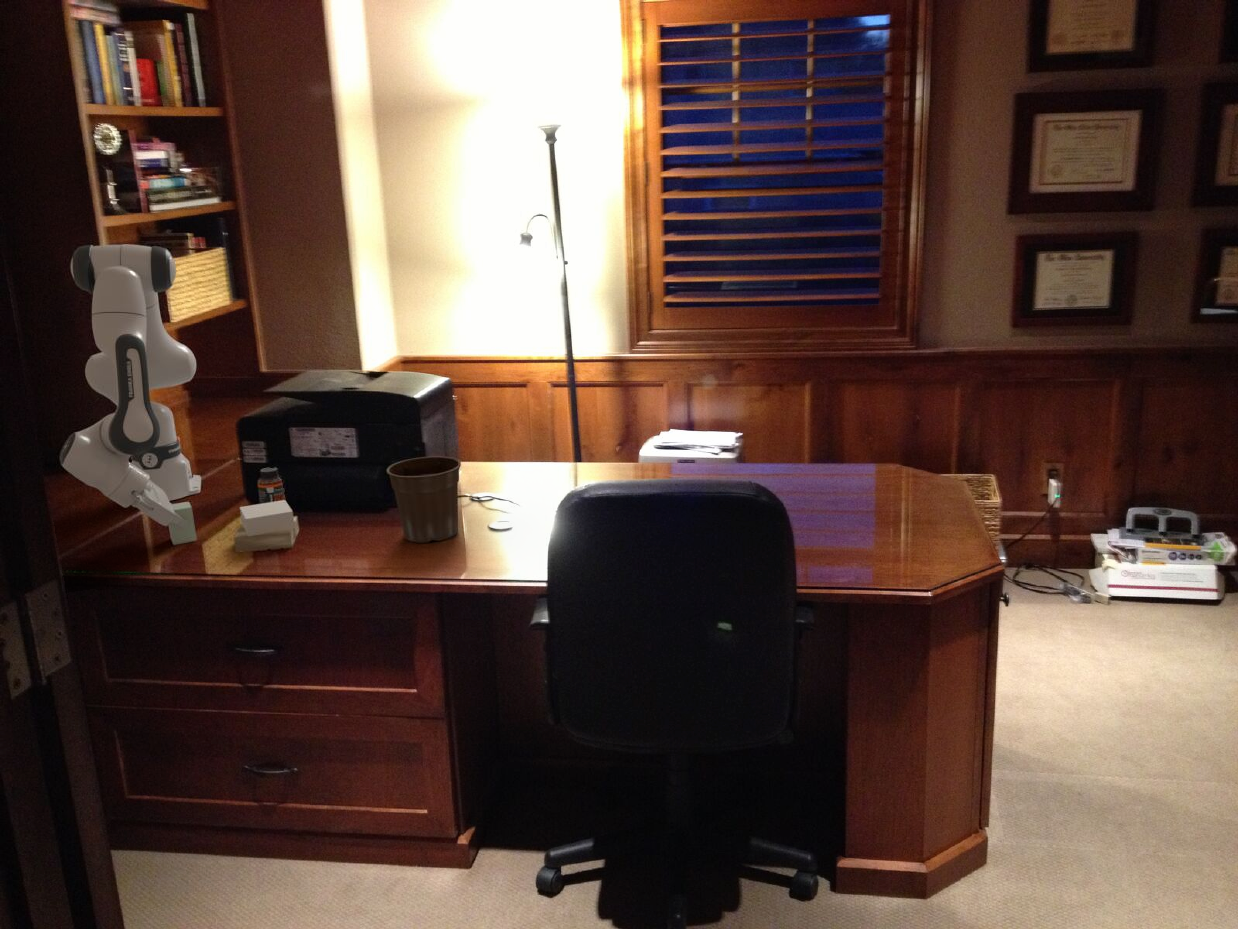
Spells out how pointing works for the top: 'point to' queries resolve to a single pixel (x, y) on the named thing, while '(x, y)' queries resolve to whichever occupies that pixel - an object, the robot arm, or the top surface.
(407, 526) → the plant pot
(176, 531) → the sage block
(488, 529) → the top surface
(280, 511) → the white top slab
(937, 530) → the top surface
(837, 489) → the top surface
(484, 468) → the top surface
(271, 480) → the supplement bottle
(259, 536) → the maple base slab
